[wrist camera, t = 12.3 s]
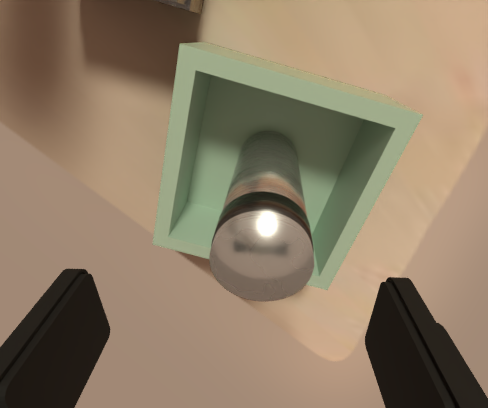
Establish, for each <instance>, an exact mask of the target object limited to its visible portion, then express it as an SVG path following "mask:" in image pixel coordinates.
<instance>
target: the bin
mask: <svg viewBox="0 0 488 408" xmlns="http://www.w3.org/2000/svg"><path fill="white" fill-rule="evenodd" d="M422 116H423V115H422V114H420V113H418V112H417V111H415V110H413V109H411V108H409V107H407V106H405V105H403V104H401V103H399V102H397V101H396V100H394V99H392V98H390V97H388V96H386V95H382V94H379V93H376V92H372V91H369V90H365V89H362V88H359V87H355V86H352V85H349V84H345V83H342V82H338V81H335V80H332V79H328V78H325V77H321V76H318V75H315V74H311V73H308V72H304V71H301V70H298V69H294V68H291V67H287V66H284V65H281V64H277V63H274V62H271V61H267V60H264V59H260V58H257V57H254V56H250V55H247V54H243V53H240V52H237V51H233V50H230V49H226V48H223V47H220V46H216V45H213V44H209V43H206V42H196V43H180V45H179V52H178V60H177V67H176V74H175V82H174V89H173V97H172V104H171V111H170V119H169V126H168V134H167V141H166V148H165V156H164V163H163V171H162V178H161V185H160V193H159V200H158V208H157V215H156V222H155V230H154V237H153V245H157V246H161V247H164V248H168V249H172V250H176V251H180V252H183V253H187V254H191V255H195V256H199V257H202V258H206V259H209V255H210V250H211V244H212V239H213V236H214V233H215V229H216V226H217V223H218V220H219V217H220V215H221V213H222V210H223V206H224V203H225V200H226V196H227V193H228V190H229V186H230V183H231V180H232V176H233V173H234V170H235V166H236V163H237V160H238V156H239V153H240V150H241V147H242V145H243V144H244V142H245V141H246V140H247V139H248V138H249V137H250V136H252V135H253V134H255V133H258V132H261V131H275V132H279V133H281V134H283V135H285V136H286V137H287V138H288V139H290V141H291V142H292V143H293V145H294V147H295V149H296V152H297V158H298V164H299V170H300V176H301V182H302V188H303V194H304V200H305V206H306V212H307V218H308V221H309V224H310V230H311V236H312V242H313V248H314V270H313V273H312V276H311V278H310V280H309V281H308V283H307V284H306V285H309V286H313V287H317V288H321V289H324V290H328V288H329V286H330V284H331V283H332V281H333V279H334V277H335V275H336V273H337V272H338V270H339V268H340V266H341V264H342V262H343V261H344V259H345V257H346V255H347V253H348V252H349V250H350V248H351V246H352V244H353V242H354V241H355V239H356V237H357V235H358V233H359V231H360V230H361V228H362V226H363V224H364V222H365V220H366V219H367V217H368V215H369V213H370V211H371V209H372V208H373V206H374V204H375V202H376V200H377V198H378V197H379V195H380V193H381V191H382V189H383V188H384V186H385V184H386V182H387V180H388V178H389V177H390V175H391V173H392V171H393V169H394V167H395V166H396V164H397V162H398V160H399V158H400V156H401V155H402V153H403V151H404V149H405V147H406V145H407V144H408V142H409V140H410V138H411V136H412V135H413V133H414V131H415V129H416V127H417V125H418V124H419V122H420V120H421V118H422Z"/></svg>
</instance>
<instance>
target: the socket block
mask: <svg viewBox="0 0 488 408" xmlns="http://www.w3.org/2000/svg"><path fill="white" fill-rule="evenodd" d="M155 1H158V2H161V3H165V4H168V5H171V6H175V7H178V8H181V9H185V10H188V11H191V12H195V13H198V14H201V11H202V5H203V0H155Z"/></svg>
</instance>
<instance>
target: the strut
mask: <svg viewBox="0 0 488 408" xmlns="http://www.w3.org/2000/svg"><path fill="white" fill-rule="evenodd" d="M209 262H210V267H211V270H212V273H213V275H214V277H215V278H216V279H217V281H218V282H219V283H220V284H221V285H222V286H223V287H224V288H225V289H227V290H228V291H230V292H231V293H233V294H235V295H237V296H239V297H242V298H245V299H249V300H253V301H275V300H280V299H284V298H286V297H289V296H291V295H293V294H295V293H297V292H298V291H299V290H301V289H302V288H303V287H304V286H305V285H306V284H307V283H308V281H309V280H310V278H311V276H312V273H313V270H314V248H313V242H312V236H311V230H310V224H309V221H308V218H307V212H306V206H305V200H304V194H303V188H302V182H301V176H300V170H299V164H298V158H297V152H296V149H295V147H294V145H293V143H292V142H291V141H290V139H288V138H287V137H286V136H285V135H283V134H281V133H279V132H275V131H261V132H258V133H255V134H253V135H252V136H250V137H249V138H248V139H247V140H246V141H245V142H244V144H243V145H242V147H241V150H240V153H239V156H238V160H237V163H236V166H235V170H234V173H233V176H232V180H231V183H230V186H229V190H228V193H227V196H226V200H225V203H224V206H223V210H222V213H221V215H220V217H219V220H218V223H217V226H216V229H215V233H214V236H213V239H212V244H211V250H210V255H209Z"/></svg>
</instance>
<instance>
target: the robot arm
mask: <svg viewBox="0 0 488 408" xmlns="http://www.w3.org/2000/svg"><path fill="white" fill-rule="evenodd" d="M109 335H110V326H109V323H108V320H107V318H106V314H105V312H104V309H103V306H102V303H101V300H100V297H99V294H98V291H97V288H96V286H95V283H94V280H93V277H92V275H91V274H88V272H87V271H86V270H85V269H65V270H64V271H63V272H62V273H61V274H60V275H59V276H58V277H57V279H56V280H55V281H54V282H53V284H52V285H51V286H50V287H49V289H48V290H47V291H46V292H45V293H44V295H43V296H42V297H41V298H40V299H39V301H38V302H37V303H36V304H35V306H34V307H33V308H32V310H31V311H30V312H29V313H28V314H27V315H26V317H25V318H24V319H23V320H22V321H21V323H20V324H19V325H18V326H17V328H16V329H15V330H14V331H13V332H12V334H11V335H10V336H9V338H8V339H7V340H6V341H5V342H4V344H3V345H2V346H1V347H0V408H74V407H75V405H76V403H77V401H78V399H79V397H80V395H81V393H82V391H83V389H84V387H85V385H86V383H87V381H88V379H89V377H90V375H91V373H92V371H93V369H94V367H95V365H96V363H97V361H98V359H99V357H100V355H101V353H102V350H103V348H104V346H105V344H106V342H107V340H108V338H109ZM365 345H366V349H367V352H368V355H369V358H370V361H371V364H372V368H373V370H374V373H375V376H376V380H377V383H378V386H379V389H380V392H381V395H382V398H383V401H384V404H385V407H386V408H488V398H487V397H486V395H485V393H484V392H483V390H482V388H481V387H480V385H479V384H478V382H477V380H476V379H475V377H474V375H473V374H472V372H471V371H470V369H469V367H468V366H467V364H466V362H465V361H464V359H463V357H462V356H461V354H460V352H459V351H458V349H457V347H456V346H455V344H454V343H453V341H452V339H451V338H450V336H449V334H448V333H447V331H446V330H445V329H444V327H443V326H442V325H440V324H439V323H436V321H435V320H434V318H433V316H432V315H431V313H430V312H429V310H428V308H427V306H426V305H425V303H424V301H423V300H422V298H421V296H420V295H419V293H418V291H417V290H416V288H415V286H414V285H413V283H412V281H411V280H410V279H409V278H393V277H389V278H388V279H387V280H386V282H382V283H381V285H380V288H379V291H378V295H377V298H376V302H375V305H374V308H373V312H372V315H371V319H370V322H369V326H368V329H367V332H366V336H365Z"/></svg>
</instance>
